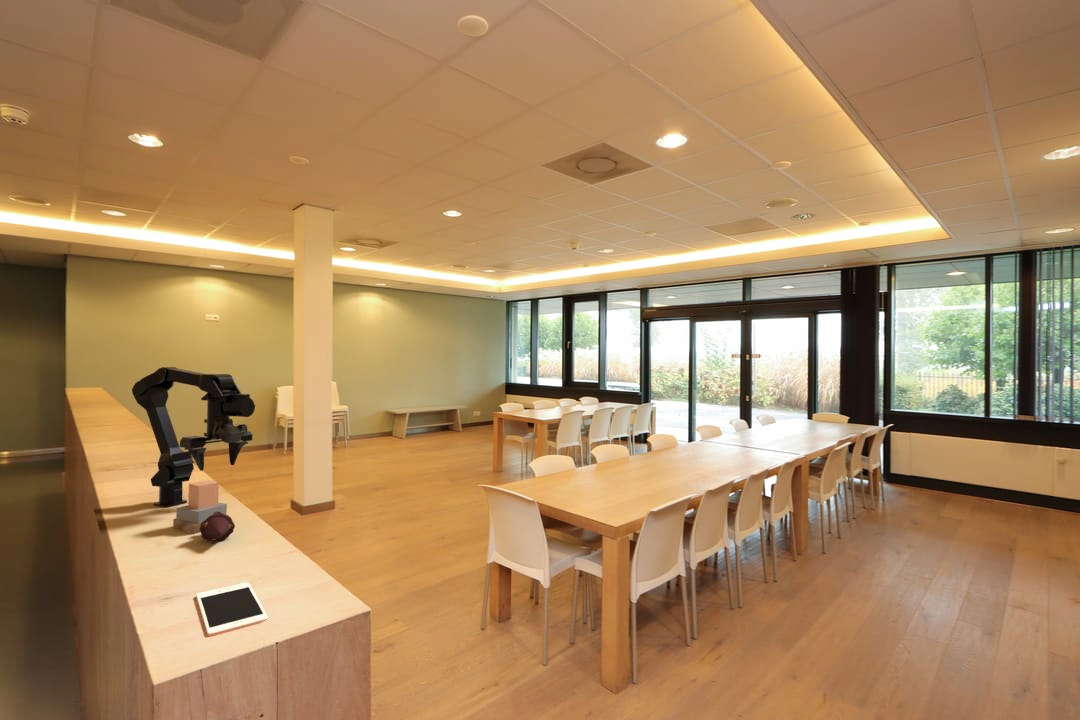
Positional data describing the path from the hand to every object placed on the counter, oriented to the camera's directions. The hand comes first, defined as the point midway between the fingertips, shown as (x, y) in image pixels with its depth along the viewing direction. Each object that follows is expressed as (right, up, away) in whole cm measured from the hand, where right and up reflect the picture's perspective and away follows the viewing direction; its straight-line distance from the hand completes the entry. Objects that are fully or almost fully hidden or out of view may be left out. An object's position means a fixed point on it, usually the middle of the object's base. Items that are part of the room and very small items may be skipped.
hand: (217, 467), depth 154 cm
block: (+6, -7, -16) cm, 19 cm away
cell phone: (+41, -13, -61) cm, 74 cm away
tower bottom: (+6, -13, -17) cm, 22 cm away
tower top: (+6, -10, -17) cm, 20 cm away
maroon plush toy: (+17, -13, -27) cm, 34 cm away
